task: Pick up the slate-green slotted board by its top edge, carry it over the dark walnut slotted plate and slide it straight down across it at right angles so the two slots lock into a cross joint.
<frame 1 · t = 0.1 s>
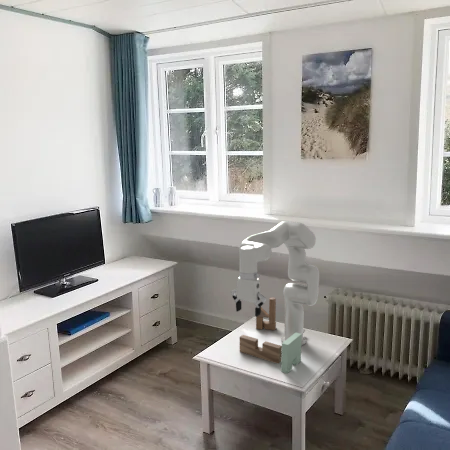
hand: (248, 312, 206), 31 cm above the table, tool pointing down, fingers open, 9 cm apart
wooden block: (266, 328, 264), on the table
walnut slotted plate: (260, 356, 232), on the table
green slotted board: (291, 366, 223), on the table
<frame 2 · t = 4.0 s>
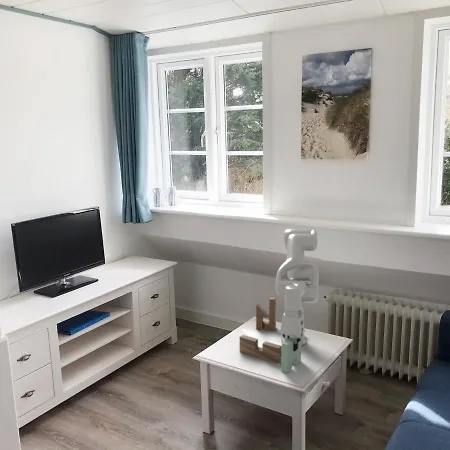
hand: (291, 349, 221), 9 cm above the table, tool pointing down, fingers closed on green slotted board, 3 cm apart
green slotted board: (291, 366, 223), on the table, touching gripper
everything else where it was.
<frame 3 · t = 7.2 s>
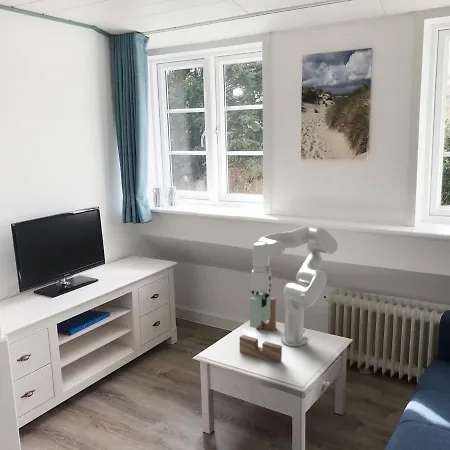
hand: (260, 305, 227), 27 cm above the table, tool pointing down, fingers closed on green slotted board, 3 cm apart
green slotted board: (260, 322, 228), point 18 cm above the table, touching gripper
everything else where it was.
when the fingers open (10 cm above the table, at t = 10.4 s): green slotted board stays where it is, on the table.
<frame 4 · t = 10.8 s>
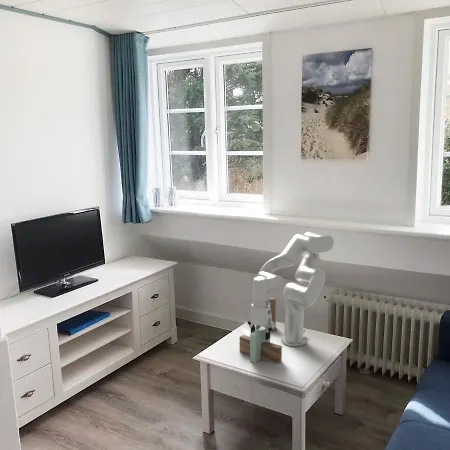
hand: (260, 336, 230), 10 cm above the table, tool pointing down, fingers open, 7 cm apart
green slotted board: (260, 356, 232), on the table
everything else where it was.
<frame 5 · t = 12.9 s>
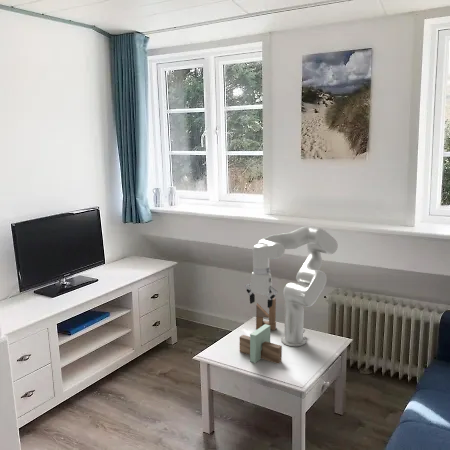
hand: (260, 304, 227), 27 cm above the table, tool pointing down, fingers open, 9 cm apart
nothing on the table moved.
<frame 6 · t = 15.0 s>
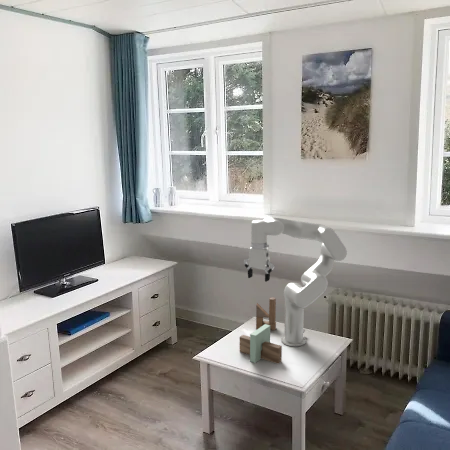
hand: (258, 279, 235), 36 cm above the table, tool pointing down, fingers open, 9 cm apart
nothing on the table moved.
at the end: green slotted board 0.1 cm off-centre on the walnut slotted plate, point 0.0 cm above the walnut slotted plate's base; green slotted board tilted 0°; the gripper is holding nothing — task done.
